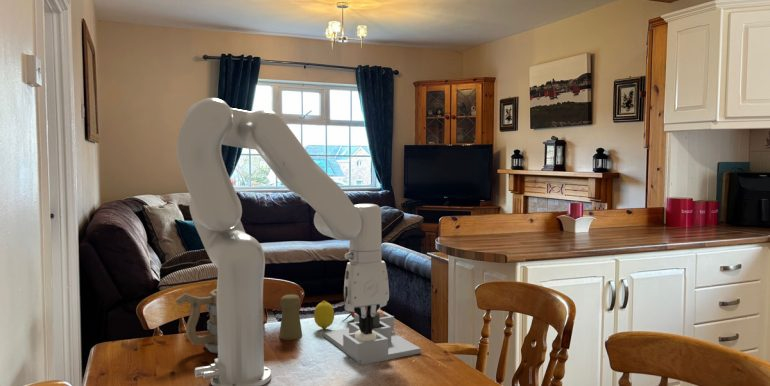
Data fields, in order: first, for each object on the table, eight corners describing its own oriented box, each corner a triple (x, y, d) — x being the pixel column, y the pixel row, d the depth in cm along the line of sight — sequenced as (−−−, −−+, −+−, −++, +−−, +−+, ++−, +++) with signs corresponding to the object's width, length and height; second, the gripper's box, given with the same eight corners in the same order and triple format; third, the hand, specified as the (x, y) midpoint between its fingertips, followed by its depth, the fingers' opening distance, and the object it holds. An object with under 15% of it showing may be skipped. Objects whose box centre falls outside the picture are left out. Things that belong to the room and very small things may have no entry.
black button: (365, 333, 140) (365, 317, 140) (356, 327, 145) (356, 312, 145) (383, 330, 143) (383, 314, 143) (374, 324, 147) (374, 309, 147)
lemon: (331, 333, 153) (330, 304, 153) (311, 331, 154) (311, 303, 154) (336, 327, 159) (336, 298, 158) (317, 325, 160) (317, 297, 159)
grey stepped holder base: (357, 365, 130) (357, 344, 129) (319, 336, 150) (319, 318, 150) (424, 352, 138) (424, 332, 138) (380, 327, 159) (380, 309, 158)
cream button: (360, 354, 132) (360, 337, 131) (351, 347, 136) (351, 331, 136) (379, 350, 134) (379, 334, 134) (370, 344, 138) (370, 328, 138)
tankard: (248, 334, 152) (247, 279, 151) (265, 347, 142) (264, 288, 141) (170, 347, 142) (169, 288, 141) (182, 363, 131) (181, 299, 130)
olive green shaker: (276, 334, 152) (276, 293, 152) (298, 331, 155) (298, 291, 154) (282, 341, 147) (282, 299, 146) (305, 337, 149) (304, 296, 149)
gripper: (343, 262, 127) (344, 342, 128) (401, 256, 134) (401, 332, 135) (330, 256, 133) (331, 333, 135) (385, 251, 140) (386, 323, 142)
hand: (366, 332), depth 135 cm, fingers closed
